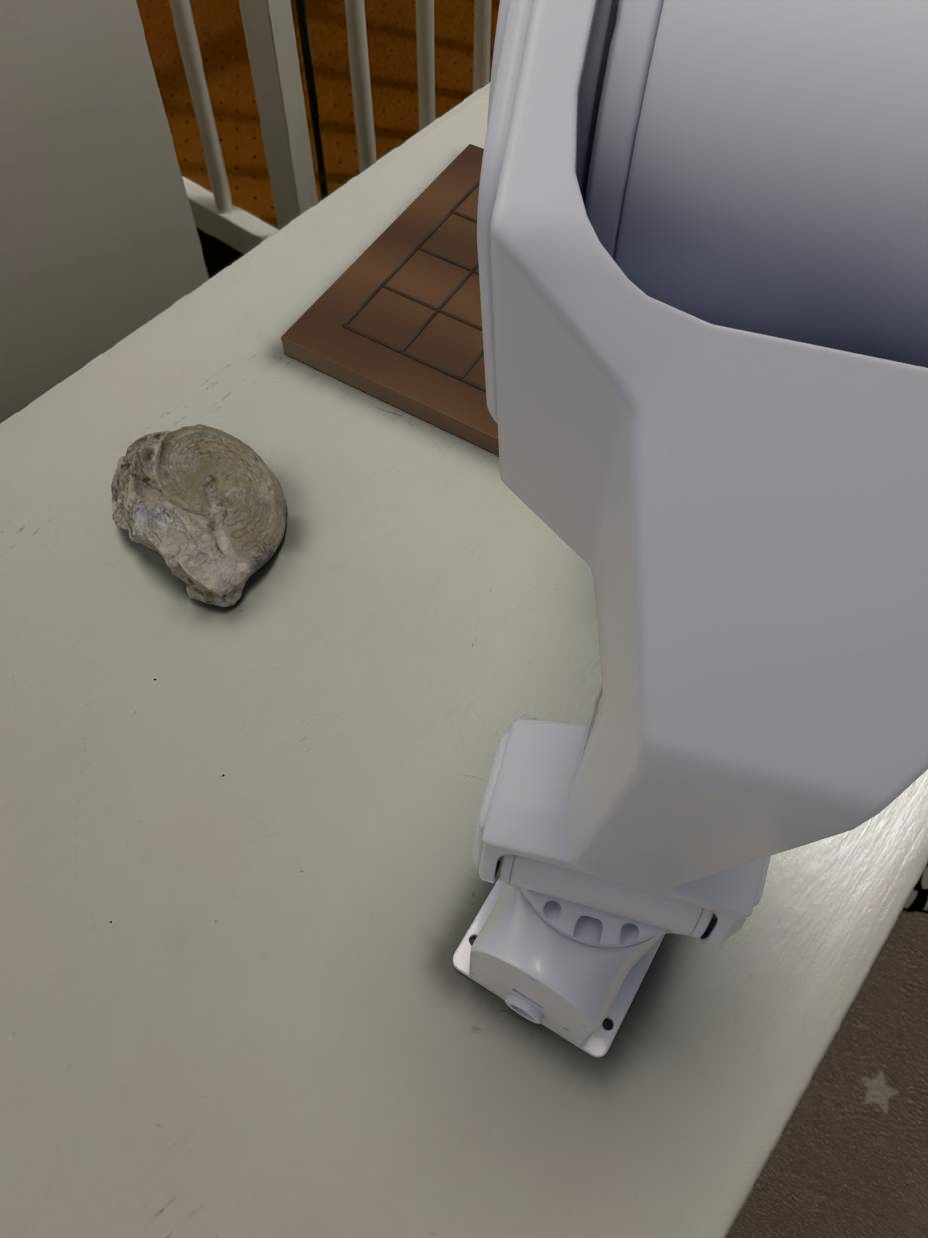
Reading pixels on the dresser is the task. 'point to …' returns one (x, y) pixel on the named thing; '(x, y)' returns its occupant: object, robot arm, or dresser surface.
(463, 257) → the board
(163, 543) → the fossilized seashell
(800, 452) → the robot arm
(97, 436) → the dresser surface
